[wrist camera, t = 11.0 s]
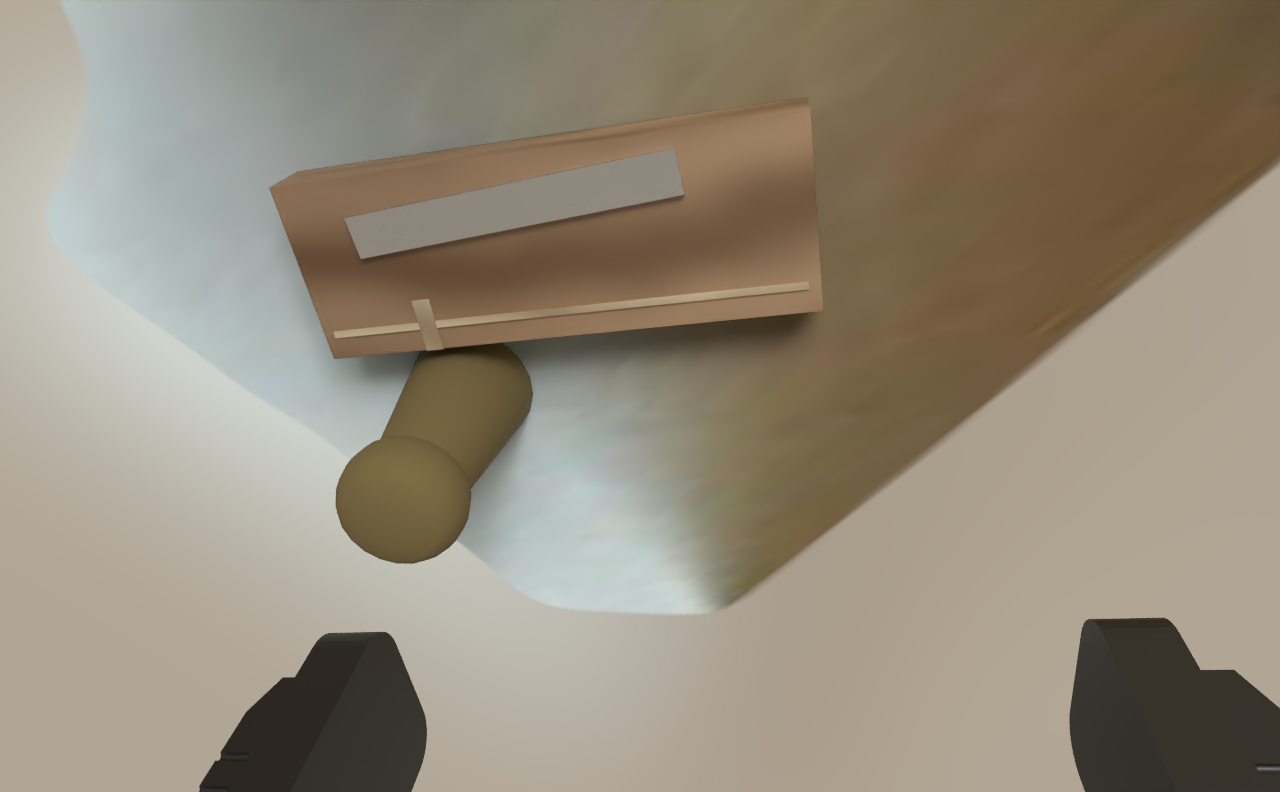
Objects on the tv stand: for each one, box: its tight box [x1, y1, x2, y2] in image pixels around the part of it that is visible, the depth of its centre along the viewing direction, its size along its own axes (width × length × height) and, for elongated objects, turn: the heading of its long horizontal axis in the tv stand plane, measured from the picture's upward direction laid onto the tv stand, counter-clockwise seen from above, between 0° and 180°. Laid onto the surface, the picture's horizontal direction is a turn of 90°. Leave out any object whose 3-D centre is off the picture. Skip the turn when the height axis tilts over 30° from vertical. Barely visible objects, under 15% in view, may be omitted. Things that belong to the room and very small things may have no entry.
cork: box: [336, 343, 533, 564], centre depth 37 cm, size 6×6×11 cm
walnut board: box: [270, 98, 823, 359], centre depth 35 cm, size 8×22×3 cm, turn 99°
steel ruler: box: [344, 147, 685, 259], centre depth 34 cm, size 2×14×1 cm, turn 103°
